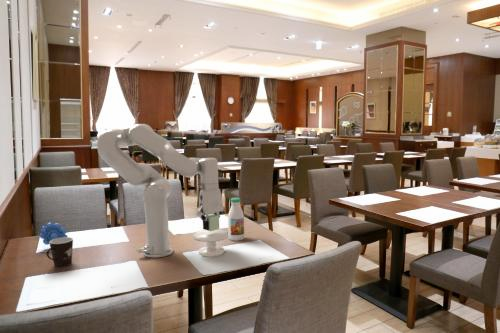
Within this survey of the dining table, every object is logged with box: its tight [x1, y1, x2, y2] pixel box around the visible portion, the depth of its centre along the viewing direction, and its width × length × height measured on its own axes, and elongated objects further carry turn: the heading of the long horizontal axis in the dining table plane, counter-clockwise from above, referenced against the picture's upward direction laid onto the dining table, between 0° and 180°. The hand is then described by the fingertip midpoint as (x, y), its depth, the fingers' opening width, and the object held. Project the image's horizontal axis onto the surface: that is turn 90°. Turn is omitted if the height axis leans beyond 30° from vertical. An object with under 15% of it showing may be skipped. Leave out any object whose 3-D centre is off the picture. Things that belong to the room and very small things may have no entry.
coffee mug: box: [46, 236, 74, 268], centre depth 156 cm, size 12×9×10 cm
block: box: [203, 214, 220, 231], centre depth 167 cm, size 5×5×6 cm
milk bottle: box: [227, 197, 245, 242], centre depth 186 cm, size 8×8×20 cm
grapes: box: [38, 222, 69, 246], centre depth 178 cm, size 12×7×12 cm, turn 120°
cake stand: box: [193, 228, 229, 258], centre depth 168 cm, size 15×15×8 cm
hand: (211, 227), depth 167 cm, fingers closed on block, 5 cm apart
